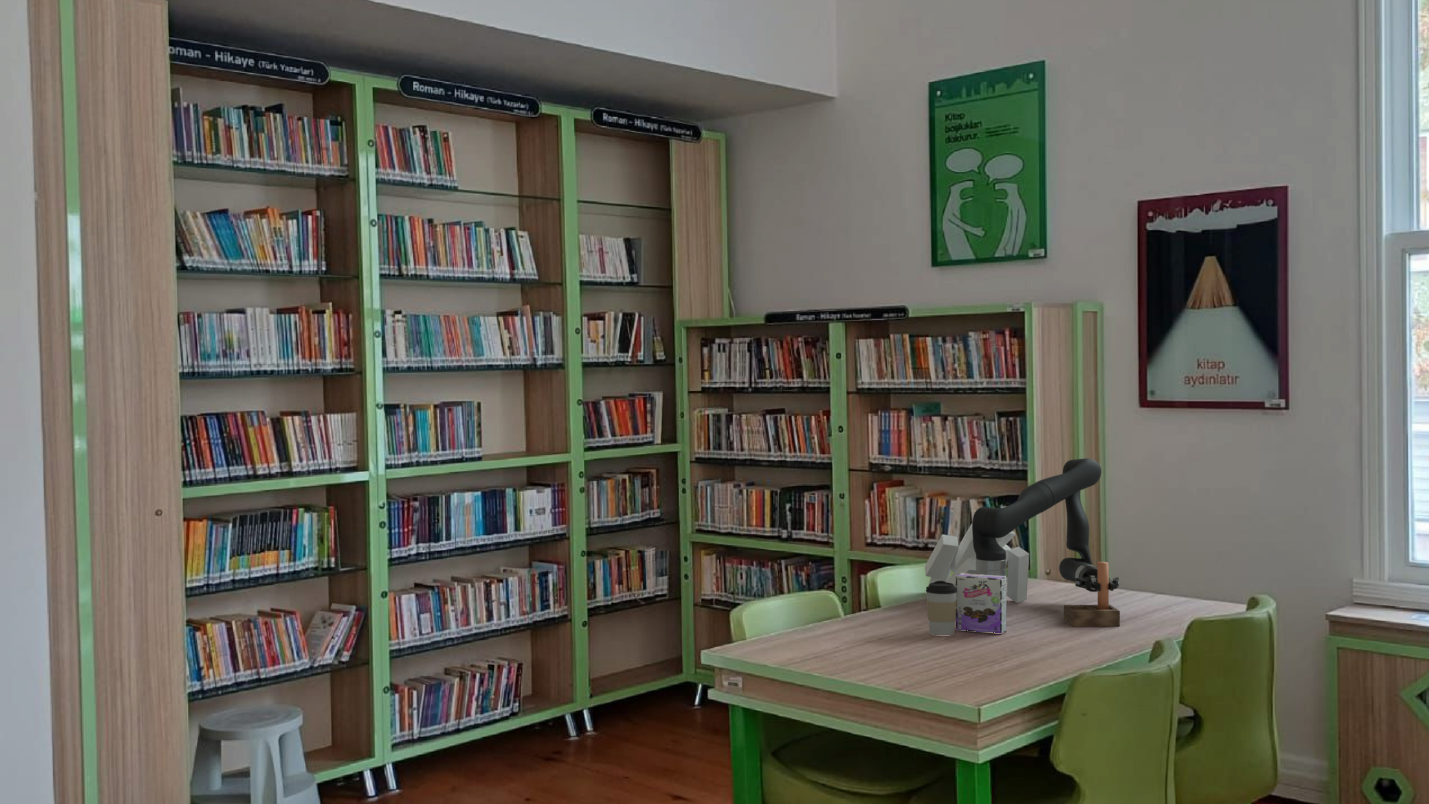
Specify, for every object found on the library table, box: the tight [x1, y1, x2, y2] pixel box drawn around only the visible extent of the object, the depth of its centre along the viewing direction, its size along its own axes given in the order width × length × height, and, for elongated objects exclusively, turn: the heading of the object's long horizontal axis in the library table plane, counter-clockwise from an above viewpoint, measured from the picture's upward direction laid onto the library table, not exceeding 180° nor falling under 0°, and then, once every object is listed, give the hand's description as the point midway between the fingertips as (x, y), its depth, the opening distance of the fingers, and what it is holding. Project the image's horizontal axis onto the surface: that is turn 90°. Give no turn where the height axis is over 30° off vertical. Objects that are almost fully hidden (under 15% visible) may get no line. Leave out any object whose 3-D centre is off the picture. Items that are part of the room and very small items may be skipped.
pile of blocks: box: [924, 523, 1030, 604], centre depth 412 cm, size 35×30×35 cm
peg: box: [1096, 561, 1110, 609], centre depth 376 cm, size 3×3×16 cm
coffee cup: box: [925, 581, 958, 636], centre depth 363 cm, size 9×9×15 cm
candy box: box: [955, 573, 1007, 634], centre depth 366 cm, size 14×6×16 cm, turn 62°
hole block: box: [1063, 604, 1121, 627], centre depth 376 cm, size 14×10×4 cm
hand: (1105, 587), depth 373 cm, fingers closed on peg, 3 cm apart
